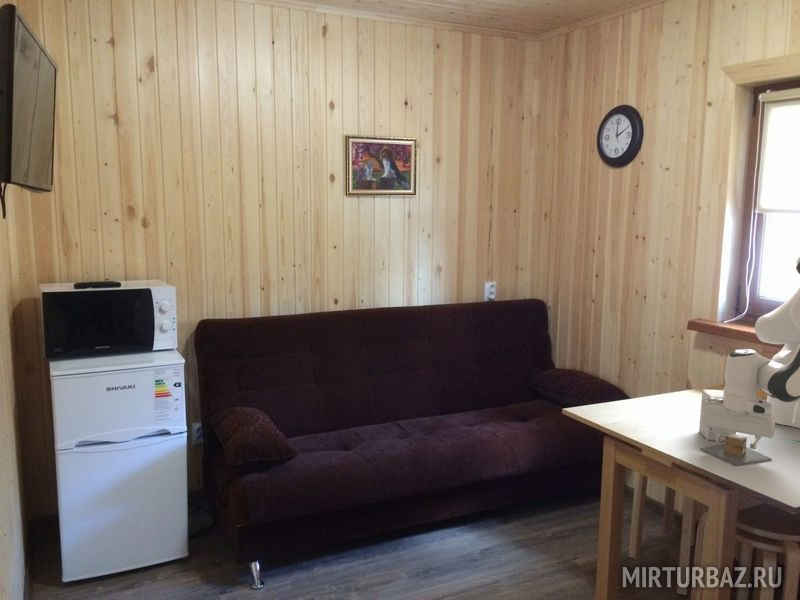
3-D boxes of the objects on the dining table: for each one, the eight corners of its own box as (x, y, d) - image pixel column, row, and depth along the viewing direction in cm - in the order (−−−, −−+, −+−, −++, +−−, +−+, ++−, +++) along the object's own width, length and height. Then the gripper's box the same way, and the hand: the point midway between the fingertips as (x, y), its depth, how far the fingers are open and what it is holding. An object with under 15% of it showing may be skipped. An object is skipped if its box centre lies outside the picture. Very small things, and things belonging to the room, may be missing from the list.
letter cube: (728, 448, 206) (729, 433, 206) (746, 452, 203) (747, 436, 202) (723, 453, 203) (725, 437, 202) (742, 457, 199) (743, 441, 199)
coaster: (734, 444, 212) (735, 442, 212) (771, 460, 199) (771, 458, 199) (699, 449, 208) (700, 447, 207) (734, 466, 194) (735, 464, 194)
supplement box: (706, 440, 215) (709, 396, 213) (698, 431, 224) (701, 388, 222) (736, 442, 214) (739, 397, 212) (726, 432, 223) (729, 389, 221)
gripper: (700, 398, 204) (697, 441, 206) (775, 410, 192) (771, 455, 194) (704, 393, 209) (701, 435, 211) (777, 405, 197) (774, 449, 199)
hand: (735, 445), depth 203 cm, fingers open, 8 cm apart
